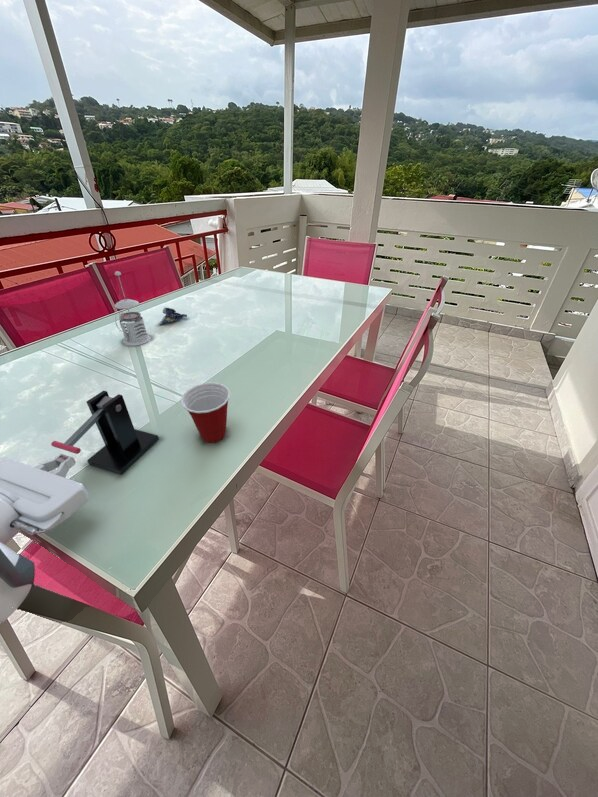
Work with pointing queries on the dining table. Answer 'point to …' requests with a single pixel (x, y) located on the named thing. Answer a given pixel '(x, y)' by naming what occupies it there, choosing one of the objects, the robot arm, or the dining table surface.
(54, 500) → the robot arm
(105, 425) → the bracket
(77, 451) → the lever
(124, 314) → the french press
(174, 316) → the snack package
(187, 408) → the plastic cup
